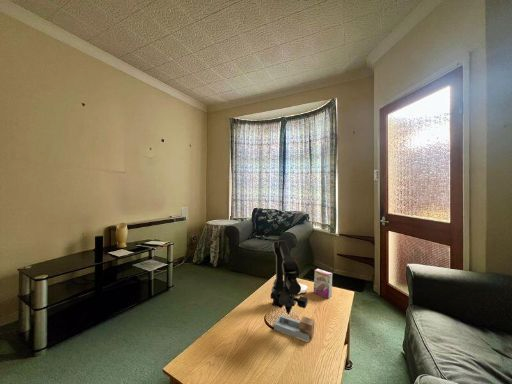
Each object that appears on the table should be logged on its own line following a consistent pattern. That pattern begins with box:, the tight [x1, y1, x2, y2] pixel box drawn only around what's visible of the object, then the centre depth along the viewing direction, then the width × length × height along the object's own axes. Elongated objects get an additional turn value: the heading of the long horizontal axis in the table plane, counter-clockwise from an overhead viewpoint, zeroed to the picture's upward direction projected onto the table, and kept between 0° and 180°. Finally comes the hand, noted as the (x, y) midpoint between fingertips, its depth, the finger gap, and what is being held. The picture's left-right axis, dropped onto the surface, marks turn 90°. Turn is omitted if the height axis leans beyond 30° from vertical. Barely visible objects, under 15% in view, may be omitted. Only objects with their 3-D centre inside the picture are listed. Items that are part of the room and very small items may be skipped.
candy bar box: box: [313, 268, 333, 299], centre depth 148 cm, size 11×5×16 cm, turn 47°
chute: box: [273, 315, 311, 343], centre depth 111 cm, size 18×9×3 cm, turn 62°
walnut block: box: [299, 315, 315, 340], centre depth 108 cm, size 6×5×7 cm
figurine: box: [292, 272, 309, 295], centre depth 155 cm, size 20×18×16 cm
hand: (288, 314), depth 112 cm, fingers closed
